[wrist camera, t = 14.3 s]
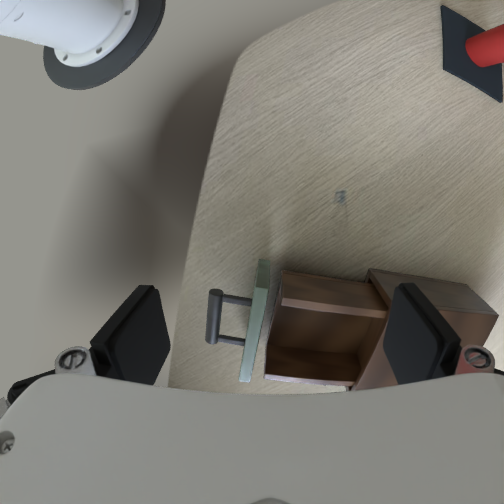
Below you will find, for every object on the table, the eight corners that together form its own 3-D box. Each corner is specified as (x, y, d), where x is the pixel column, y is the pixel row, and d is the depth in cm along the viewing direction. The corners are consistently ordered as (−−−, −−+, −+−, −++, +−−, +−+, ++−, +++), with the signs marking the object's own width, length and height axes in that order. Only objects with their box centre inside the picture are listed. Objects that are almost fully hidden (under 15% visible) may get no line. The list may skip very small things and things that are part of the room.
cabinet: (337, 355, 34) (348, 401, 27) (368, 267, 30) (394, 304, 22) (430, 359, 34) (451, 396, 26) (466, 284, 29) (499, 315, 22)
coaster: (442, 69, 21) (445, 68, 20) (440, 6, 17) (442, 4, 17) (499, 102, 21) (502, 102, 20) (497, 41, 17) (499, 40, 17)
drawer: (210, 338, 34) (198, 373, 28) (218, 251, 30) (204, 277, 24) (356, 357, 33) (367, 392, 27) (387, 279, 29) (409, 307, 23)
